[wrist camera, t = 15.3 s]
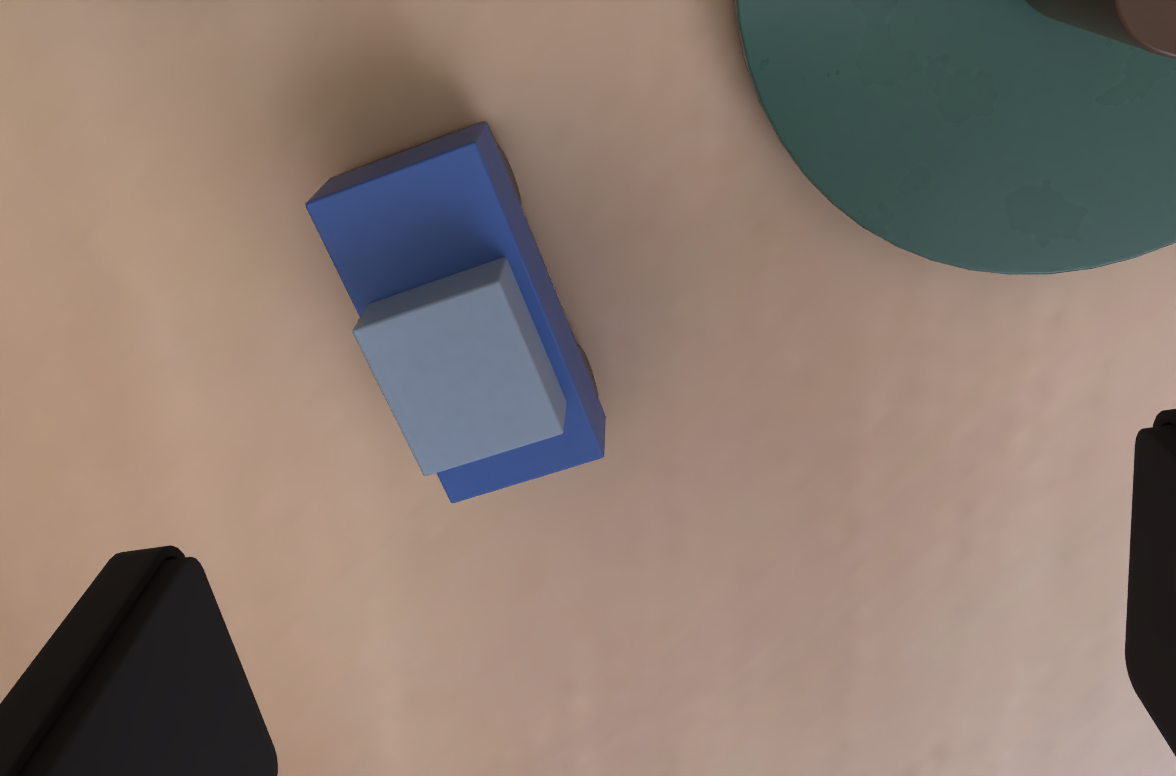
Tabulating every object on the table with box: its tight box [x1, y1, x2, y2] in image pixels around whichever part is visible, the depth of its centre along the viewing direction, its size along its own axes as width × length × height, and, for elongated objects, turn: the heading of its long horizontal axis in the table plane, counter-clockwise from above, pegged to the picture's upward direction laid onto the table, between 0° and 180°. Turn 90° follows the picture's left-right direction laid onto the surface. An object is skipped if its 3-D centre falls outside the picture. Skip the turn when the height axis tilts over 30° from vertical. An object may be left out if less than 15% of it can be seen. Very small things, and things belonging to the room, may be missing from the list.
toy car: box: [305, 122, 606, 503], centre depth 23 cm, size 8×4×4 cm, turn 20°
